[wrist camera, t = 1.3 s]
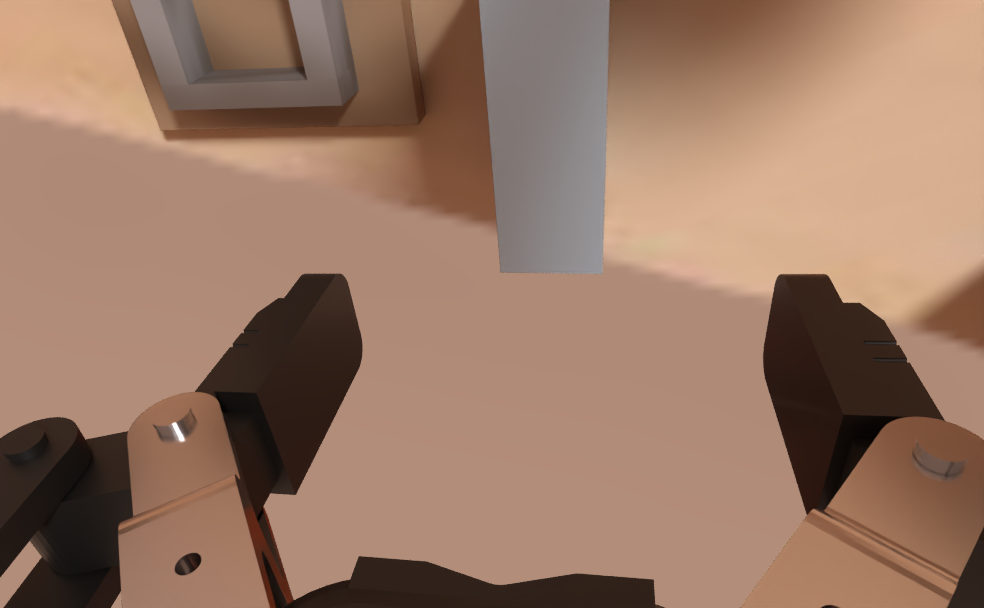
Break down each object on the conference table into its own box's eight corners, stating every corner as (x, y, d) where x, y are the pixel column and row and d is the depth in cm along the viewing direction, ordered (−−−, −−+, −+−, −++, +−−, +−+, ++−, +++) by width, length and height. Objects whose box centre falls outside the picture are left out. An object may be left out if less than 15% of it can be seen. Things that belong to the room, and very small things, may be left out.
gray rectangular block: (513, -80, 23) (474, -54, 17) (612, -88, 23) (610, -63, 16) (526, 178, 29) (500, 272, 22) (605, 177, 28) (602, 274, 22)
